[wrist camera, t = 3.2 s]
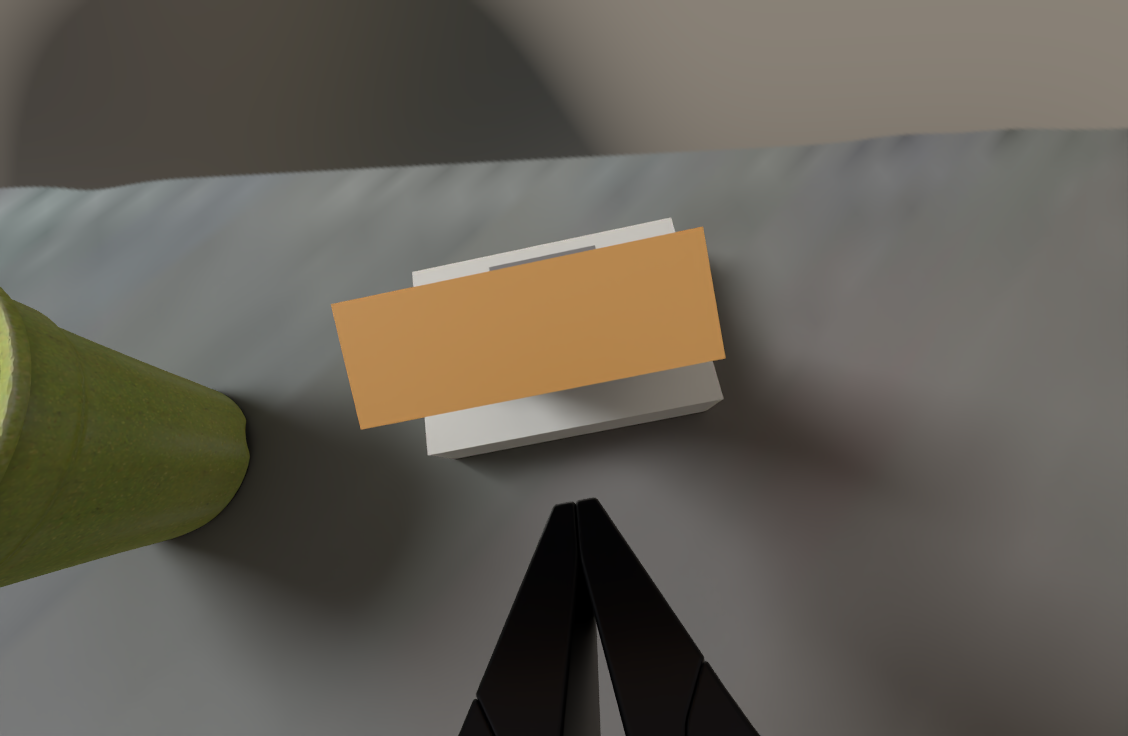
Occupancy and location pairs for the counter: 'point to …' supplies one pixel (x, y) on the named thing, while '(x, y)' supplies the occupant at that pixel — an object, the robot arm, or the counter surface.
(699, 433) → the counter surface
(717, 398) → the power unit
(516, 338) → the rocker lever
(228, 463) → the plant pot
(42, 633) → the counter surface
